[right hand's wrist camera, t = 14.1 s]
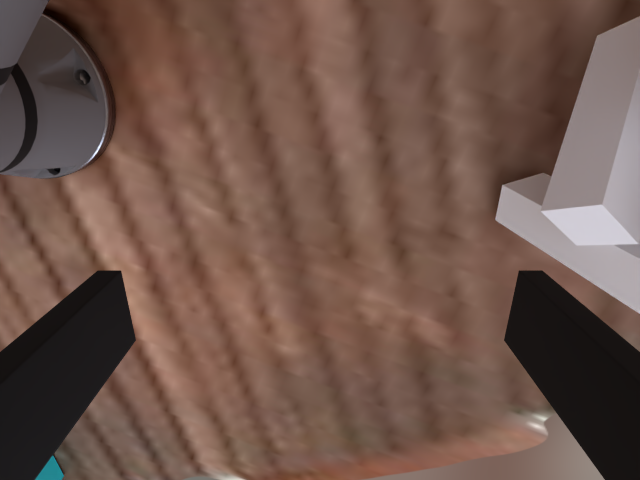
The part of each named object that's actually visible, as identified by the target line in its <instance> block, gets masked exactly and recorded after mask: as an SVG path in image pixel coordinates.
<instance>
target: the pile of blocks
mask: <svg viewBox="0 0 640 480" xmlns="http://www.w3.org/2000/svg"><path fill="white" fill-rule="evenodd" d="M495 220H496V221H497V222H499V223H501V224H502V225H504V226H505V227H507V228H508V229H510V230H511V231H513V232H514V233H516V234H518V235H519V236H521V237H522V238H524V239H525V240H527V241H528V242H530V243H531V244H533V245H534V246H536V247H538V248H539V249H541V250H542V251H544V252H545V253H547V254H548V255H550V256H551V257H553V258H555V259H556V260H558V261H559V262H561V263H562V264H564V265H565V266H567V267H568V268H570V269H572V270H573V271H575V272H576V273H578V274H579V275H581V276H582V277H584V278H585V279H587V280H588V281H590V282H592V283H593V284H595V285H596V286H598V287H599V288H601V289H602V290H604V291H605V292H607V293H609V294H610V295H612V296H613V297H615V298H616V299H618V300H619V301H621V302H622V303H624V304H625V305H627V306H629V307H630V308H632V309H633V310H635V311H636V312H638V313H639V314H640V16H639V17H637V18H635V19H632V20H630V21H628V22H626V23H624V24H622V25H619V26H617V27H615V28H613V29H611V30H608V31H606V32H604V33H602V34H600V35H597V38H596V41H595V44H594V47H593V50H592V53H591V56H590V59H589V63H588V66H587V69H586V72H585V75H584V78H583V81H582V84H581V87H580V90H579V93H578V96H577V100H576V103H575V106H574V109H573V112H572V115H571V118H570V121H569V124H568V127H567V130H566V133H565V137H564V140H563V143H562V146H561V149H560V152H559V155H558V158H557V161H556V164H555V167H554V170H553V174H552V176H549V175H547V174H545V173H541V174H537V175H534V176H531V177H527V178H524V179H521V180H517V181H514V182H510V183H507V184H504V185H502V189H501V194H500V199H499V204H498V209H497V214H496V219H495Z"/></svg>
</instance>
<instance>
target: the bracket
mask: <svg viewBox="0 0 640 480" xmlns="http://www.w3.org/2000/svg"><path fill="white" fill-rule="evenodd" d="M63 477H64V475H63V473H62V471H61V469H60V467H59V465H58V464H57V462H56V460H55V458H54V456H52V457H51V458H50V460H49V461H48V463H47V464H46V465H45V467H44V468H43V469H42V471H41V472H40V474H39V475H38V476H37V478H36V479H35V480H62V478H63Z"/></svg>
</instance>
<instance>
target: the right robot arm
mask: <svg viewBox="0 0 640 480" xmlns="http://www.w3.org/2000/svg"><path fill="white" fill-rule="evenodd" d="M48 1H49V0H0V174H4V175H13V176H21V177H30V178H57V177H61V176H65V175H68V174H71V173H74V172H76V171H79V170H81V169H83V168H86V167H87V166H89V165H90V164H92V163H93V162H94V161H95V160H97V159H98V158H99V156H100V155H101V154H102V153H103V152H104V150H105V149H106V147H107V145H108V143H109V141H110V139H111V136H112V133H113V129H114V124H115V102H114V96H113V91H112V88H111V84H110V81H109V79H108V76H107V74H106V72H105V70H104V68H103V66H102V64H101V62H100V61H99V59H98V57H97V56H96V55H95V53H94V52H93V50H92V49H91V48H90V47H89V45H88V44H87V43H86V42H85V41H84V40H83V39H82V38H81V37H80V36H79V35H78V34H77V33H76V32H75V31H74V30H72V29H71V28H70V27H68V26H67V25H66V24H64V23H63V22H61V21H59V20H58V19H56V18H54V17H52V16H50V15H48V14H46V13H44V12H43V11H44V9H45V7H46V5H47V3H48ZM135 341H136V339H135V334H134V329H133V325H132V320H131V315H130V311H129V306H128V301H127V296H126V292H125V287H124V282H123V278H122V273H121V271H97V272H96V273H94V274H93V275H92V276H91V277H90V278H88V279H87V280H86V281H85V282H84V283H82V284H81V285H80V286H79V287H78V288H76V289H75V290H74V291H73V292H72V293H70V294H69V295H68V296H67V297H66V298H64V299H63V300H62V301H61V302H60V303H58V304H57V305H56V306H55V307H54V308H52V309H51V310H50V311H49V312H48V313H46V314H45V315H44V316H43V317H42V318H40V319H39V320H38V321H37V322H36V323H34V324H33V325H32V326H31V327H30V328H28V329H27V330H26V331H25V332H24V333H23V334H21V335H20V336H19V337H18V338H17V339H15V340H14V341H13V342H12V343H11V344H9V345H8V346H7V347H6V348H5V349H3V350H2V351H1V352H0V480H35V479H36V478H37V476H38V475H39V474H40V472H41V471H42V469H43V468H44V467H45V465H46V464H47V463H48V461H49V460H50V458H51V457H52V456H53V454H54V453H55V451H56V450H57V449H58V447H59V446H60V445H61V443H62V442H63V440H64V439H65V438H66V436H67V435H68V433H69V432H70V431H71V429H72V428H73V427H74V425H75V424H76V422H77V421H78V420H79V418H80V417H81V415H82V414H83V413H84V411H85V410H86V409H87V407H88V406H89V404H90V403H91V402H92V400H93V399H94V397H95V396H96V395H97V393H98V392H99V391H100V389H101V388H102V386H103V385H104V384H105V382H106V381H107V379H108V378H109V377H110V375H111V374H112V373H113V371H114V370H115V368H116V367H117V366H118V364H119V363H120V361H121V360H122V359H123V357H124V356H125V355H126V353H127V352H128V350H129V349H130V348H131V346H132V345H133V343H134V342H135ZM504 341H505V342H506V343H507V345H508V346H509V348H510V349H511V350H512V352H513V353H514V355H515V356H516V357H517V359H518V360H519V361H520V363H521V364H522V366H523V367H524V368H525V370H526V371H527V373H528V374H529V375H530V377H531V378H532V379H533V381H534V382H535V384H536V385H537V386H538V388H539V389H540V391H541V392H542V393H543V395H544V396H545V397H546V399H547V400H548V402H549V403H550V404H551V406H552V407H553V409H554V410H555V411H556V413H557V414H558V415H559V417H560V418H561V420H562V421H563V422H564V424H565V425H566V426H567V428H568V429H569V431H570V432H571V433H572V435H573V436H574V438H575V439H576V440H577V442H578V443H579V445H580V446H581V447H582V449H583V450H584V451H585V453H586V454H587V456H588V457H589V458H590V460H591V461H592V463H593V464H594V465H595V467H596V468H597V469H598V471H599V472H600V474H601V475H602V476H603V478H604V479H605V480H640V352H639V351H638V350H637V349H635V348H634V347H633V346H632V345H631V344H629V343H628V342H627V341H626V340H625V339H623V338H622V337H621V336H620V335H619V334H617V333H616V332H615V331H614V330H613V329H612V328H610V327H609V326H608V325H607V324H606V323H604V322H603V321H602V320H601V319H600V318H598V317H597V316H596V315H595V314H594V313H592V312H591V311H590V310H589V309H588V308H586V307H585V306H584V305H583V304H582V303H580V302H579V301H578V300H577V299H576V298H574V297H573V296H572V295H571V294H570V293H568V292H567V291H566V290H565V289H564V288H562V287H561V286H560V285H559V284H558V283H556V282H555V281H554V280H553V279H552V278H550V277H549V276H548V275H547V274H546V273H544V272H543V271H519V273H518V278H517V282H516V287H515V292H514V296H513V301H512V306H511V311H510V315H509V320H508V325H507V329H506V334H505V339H504Z"/></svg>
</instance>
